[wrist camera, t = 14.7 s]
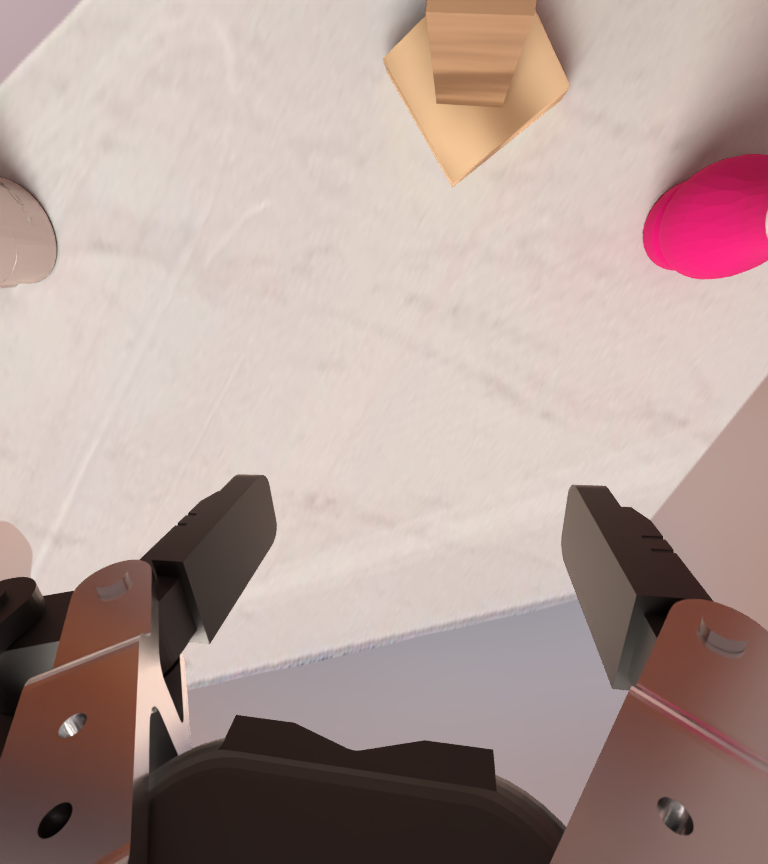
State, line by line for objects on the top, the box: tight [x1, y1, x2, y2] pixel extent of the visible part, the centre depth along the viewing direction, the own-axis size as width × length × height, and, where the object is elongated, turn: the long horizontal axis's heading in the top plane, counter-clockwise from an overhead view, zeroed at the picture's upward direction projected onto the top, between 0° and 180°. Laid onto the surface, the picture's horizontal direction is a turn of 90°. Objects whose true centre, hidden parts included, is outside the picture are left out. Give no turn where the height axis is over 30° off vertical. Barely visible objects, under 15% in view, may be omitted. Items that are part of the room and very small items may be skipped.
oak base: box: [383, 10, 570, 187], centre depth 28 cm, size 9×9×3 cm
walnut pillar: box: [426, 0, 537, 107], centre depth 21 cm, size 4×4×12 cm
